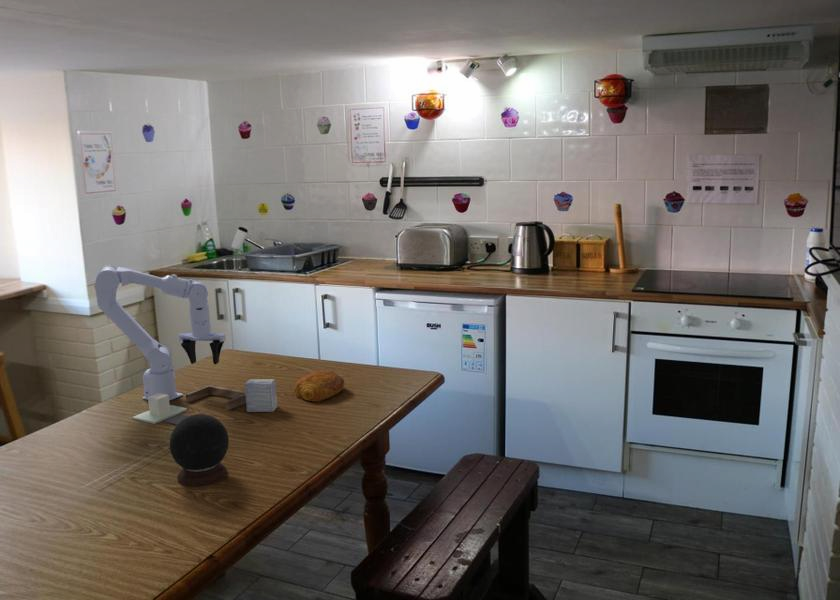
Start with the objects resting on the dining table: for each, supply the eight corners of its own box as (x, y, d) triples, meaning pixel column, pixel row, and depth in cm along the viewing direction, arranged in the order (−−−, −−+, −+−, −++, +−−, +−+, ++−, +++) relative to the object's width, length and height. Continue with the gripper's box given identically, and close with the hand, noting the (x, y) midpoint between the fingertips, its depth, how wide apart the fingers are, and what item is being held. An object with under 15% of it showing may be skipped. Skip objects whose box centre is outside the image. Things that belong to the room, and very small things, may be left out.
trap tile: (163, 422, 211) (163, 421, 211) (180, 415, 216) (180, 414, 216) (179, 425, 208) (178, 424, 208) (195, 418, 213) (195, 417, 213)
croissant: (352, 397, 234) (354, 371, 233) (319, 405, 221) (321, 379, 220) (316, 388, 242) (318, 364, 241) (283, 396, 229) (284, 370, 228)
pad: (132, 419, 215) (132, 417, 214) (165, 405, 225) (165, 403, 225) (154, 424, 210) (154, 422, 210) (187, 410, 220) (186, 408, 220)
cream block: (149, 413, 216) (147, 397, 215) (160, 409, 220) (158, 393, 219) (159, 415, 215) (157, 399, 214) (170, 411, 218) (168, 394, 217)
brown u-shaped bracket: (186, 402, 227) (185, 394, 227) (209, 392, 235) (209, 385, 235) (228, 410, 219) (227, 402, 218) (250, 400, 227) (250, 392, 226)
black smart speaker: (243, 469, 179) (238, 409, 176) (206, 493, 167) (200, 429, 164) (199, 461, 184) (193, 403, 181) (160, 483, 173) (153, 422, 170)
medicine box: (277, 407, 221) (275, 378, 219) (273, 412, 216) (271, 383, 214) (251, 406, 221) (249, 378, 220) (246, 412, 217) (244, 383, 215)
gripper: (172, 323, 229) (177, 366, 231) (216, 324, 226) (220, 367, 229) (183, 318, 235) (188, 359, 238) (226, 318, 232) (230, 360, 235)
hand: (204, 363), depth 234 cm, fingers open, 7 cm apart
